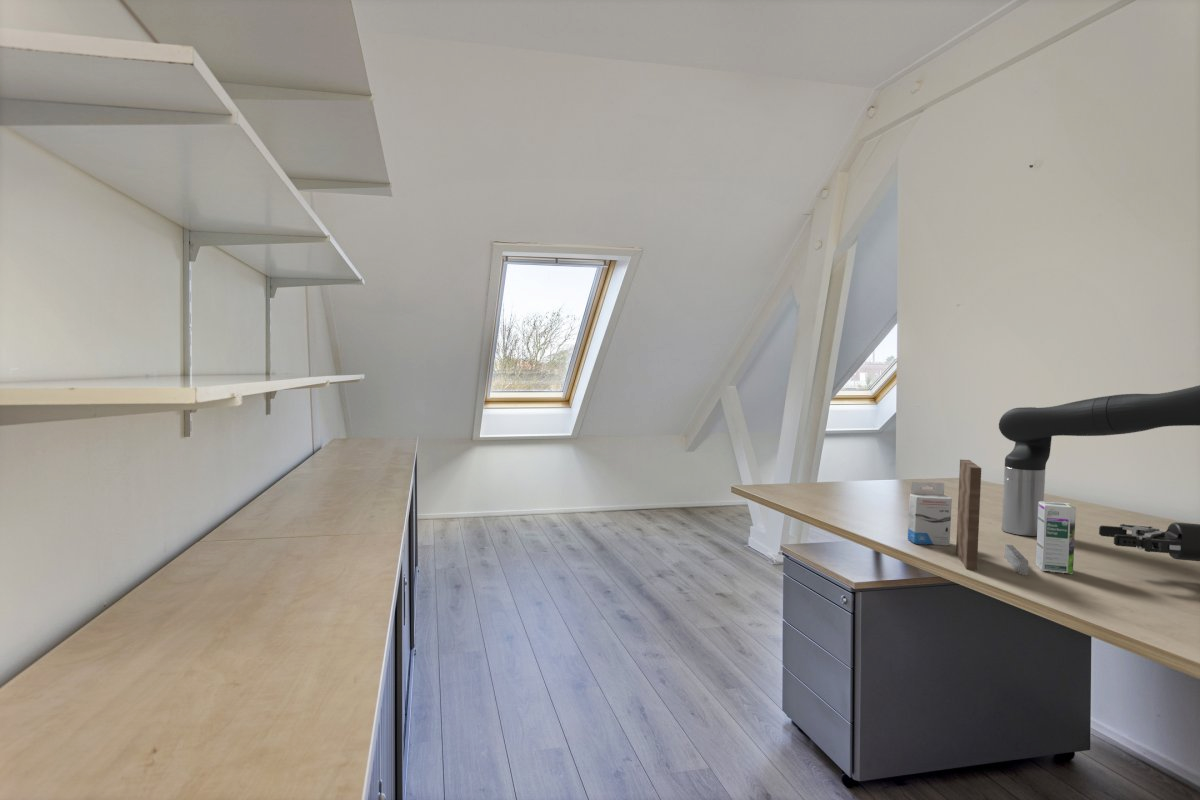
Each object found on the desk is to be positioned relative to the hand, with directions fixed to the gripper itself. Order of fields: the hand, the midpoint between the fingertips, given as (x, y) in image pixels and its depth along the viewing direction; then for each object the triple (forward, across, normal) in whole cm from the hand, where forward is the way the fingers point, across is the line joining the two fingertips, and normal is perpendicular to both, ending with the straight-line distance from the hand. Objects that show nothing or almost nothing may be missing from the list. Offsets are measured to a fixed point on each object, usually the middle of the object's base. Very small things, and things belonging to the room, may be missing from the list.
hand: (1106, 535), depth 146 cm
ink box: (+32, -15, +9) cm, 37 cm away
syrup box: (+9, 0, +9) cm, 13 cm away
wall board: (+21, 0, +8) cm, 23 cm away
